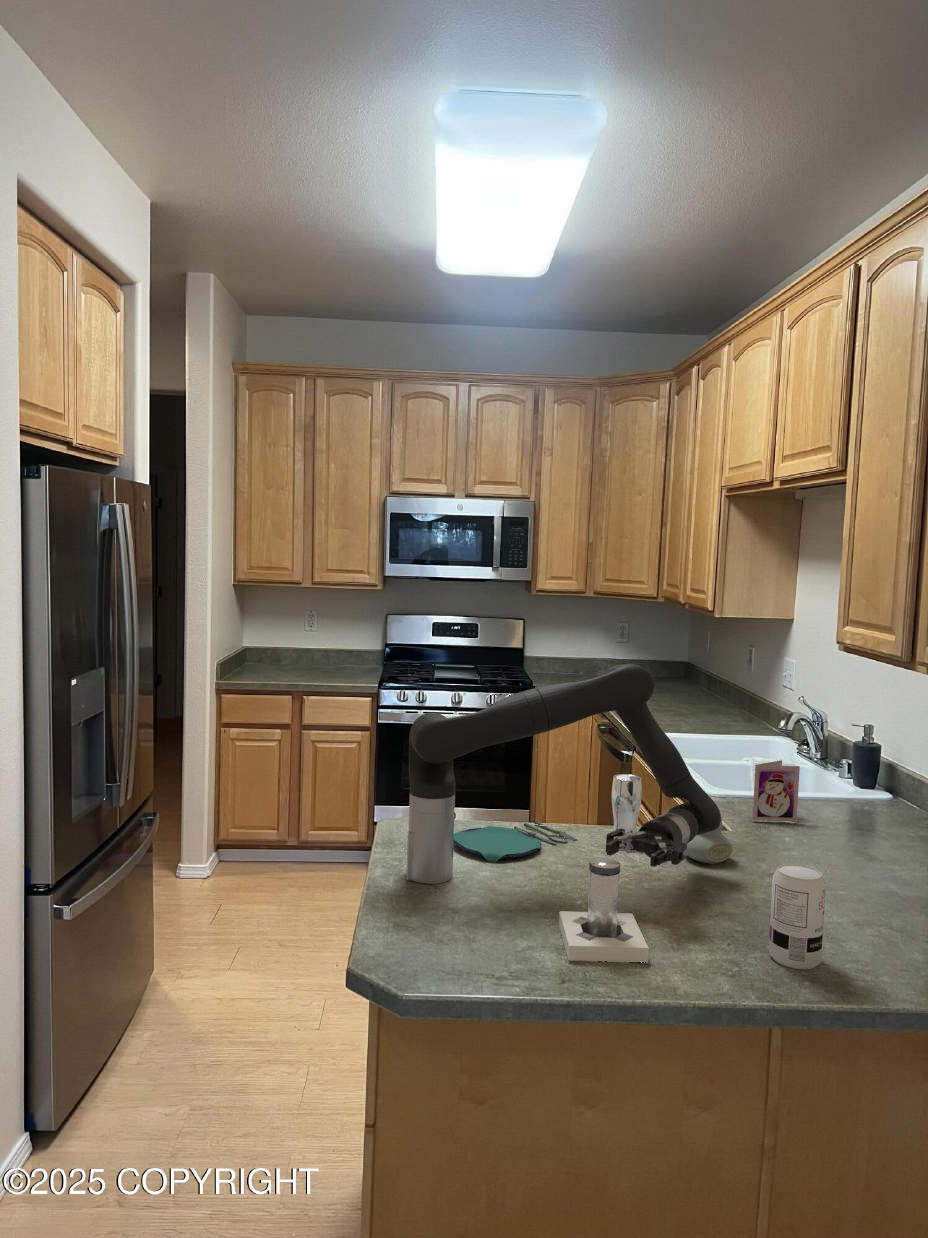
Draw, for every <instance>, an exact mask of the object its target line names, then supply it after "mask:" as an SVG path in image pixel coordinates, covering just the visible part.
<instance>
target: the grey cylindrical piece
mask: <svg viewBox="0 0 928 1238" xmlns="http://www.w3.org/2000/svg"><path fill="white" fill-rule="evenodd" d="M588 862H589V863H588V870H589V875H588V899H587V912H588V920H587V934H590V935H592V936H595V937H602V938H615V937H617V914H618V913H619V912H618V909H619V908H618V907H619V891H620V890H619V888H620V886H619V885H620V872H621V864H620V862H619V861H617V860H616V859H613V858H609V857H594V858H592V859H590V860H589V861H588Z"/></svg>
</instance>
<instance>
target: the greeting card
mask: <svg viewBox="0 0 928 1238" xmlns="http://www.w3.org/2000/svg"><path fill="white" fill-rule="evenodd" d="M754 765H755V768H754V784H753V786H754V787H753V803H752V806H753V807H752V819H753V820H762V821H765V820H767V821H792V822H797V823H798V804H799V789H800V788H799V785H800V769H801V768H800V767H801V766H800V765H783V760H782V759H780V760H775V761H771V762H765V763H759V764H758V763H757V764H754Z"/></svg>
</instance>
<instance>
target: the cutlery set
mask: <svg viewBox="0 0 928 1238" xmlns="http://www.w3.org/2000/svg"><path fill="white" fill-rule="evenodd" d="M534 824H538V825H544V823H541V822H539V821H538V820H537V821H534V823H533V825H531V824H529V823H527V822H525V823H523V827H525V828H529V829H532V830H533V831H537V832H539V833H540V834H543V835H545V837H546V836H547V837H548V838H549V839H546V838H544V837H541V836H539V835H537V833H536V832H533V831H528V830H524V829H523V828H520V827H517V826H516V825H515V826H514V827H504V826H493V825H486V826H484V827H476V828H475V827H474V828H468V829H464V830H461V831H457V832H454V843H453V845H455V847H457V848H458V849H459V848H460V849H461V850H463V851H465V852H467V853H470V854H473V855H478V856H480V857H481V856H482V857H483V858H485V860H486V861H488V862H489V863H496V862H498V861H499V860H500V859H501V858H515V857H516V858H518V857H524V856H528V855H531V854H534V853H536V852H540V851H541V849H542V842H545V843H546V844H549V845H552V846H557V845H558V844H557V843H563V844H564V843H566V842H568V840H569V839H570V840H569V841H571V840H573V841H572V842H575V841H579V839H578V838H575V837H573V836H572V835H570V834H568V833H567V832H566V831H562V830H556V829H553V828H551V827H549V826H547V825H545V826H538V825H534ZM536 826H537V827H536ZM538 827H540V829H539V828H538ZM541 827H542V829H544V830H545V831H548V832H550V831H551V833H555V834H548V833H547V832H545V831H543V830H541ZM558 834H559V835H558ZM550 837H552V838H550ZM554 837H558V838H557V839H560V840H556V839H555V838H554ZM564 837H565V838H564ZM553 838H554V839H553ZM562 839H564V840H565V841H564V840H563V841H561V840H562Z"/></svg>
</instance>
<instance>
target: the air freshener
mask: <svg viewBox="0 0 928 1238" xmlns="http://www.w3.org/2000/svg"><path fill="white" fill-rule="evenodd" d="M722 830H723V817H722V816H721V823H720V825H719V827H718V828H717V829H716V830H713V831H710V832H707V833H703V834H700V835H696V836H695V837H694V838H693V840H691V841H690V842H689V843H687V853H686V856H688V858H690V859H692V860H694V861H696V862H699V863H703V864H707V863H708V864H709V865H717V864H719V863H722V862H725V861H726V860H727V859H729V858H730V857H731V856H732V854H733V848H734V847H733V844H732V842H731V841H730V839H728V837H727V836H726V835H724V834H722Z"/></svg>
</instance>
